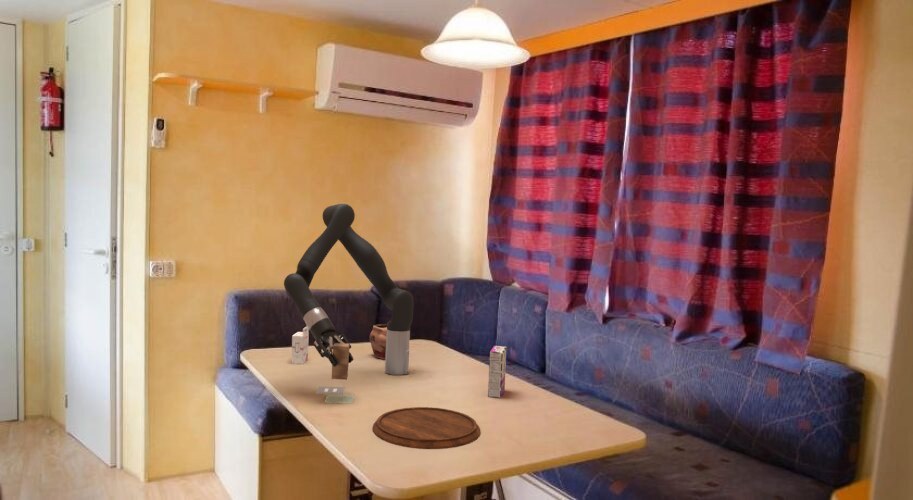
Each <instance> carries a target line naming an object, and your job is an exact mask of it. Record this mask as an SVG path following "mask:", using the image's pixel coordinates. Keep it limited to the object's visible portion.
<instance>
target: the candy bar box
mask: <svg viewBox="0 0 913 500" xmlns="http://www.w3.org/2000/svg"><path fill="white" fill-rule="evenodd" d="M488 361H489V362H488V385H487V386H488V389H487V397H488V398H495V399H501V398H502V396H503V394H504V392H505V390H506V389H505V388H506V387H505V386H506V369H507V368H506V367H507V366H506V364H507V363H506V362H507V346H501V345H493V347H492V349H490V351H489V359H488Z"/></svg>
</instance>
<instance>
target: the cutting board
mask: <svg viewBox="0 0 913 500" xmlns="http://www.w3.org/2000/svg"><path fill="white" fill-rule="evenodd" d="M372 433H373V434H374V435H375V436H376V437H377V438H378V439H380V440H382V441H384V442H386V443H389V444H392V445H395V446H399V447H404V448H405V447H406V448H412V449H419V450H420V449H421V450H440V449H441V450H442V449H452V448H458V447H461V446H466V445H469V444H471V443H473V442H474V441H476V440H477V439H478V438H479V437H480V436H481V428H480V426H479V424H478V423H477V421H476V420H475V419H474V418H473V417H472V416H470V415H468V414H466V413H463V412H459V411H456V410H454V409H453V410H452V409H448V408H440V407H429V406H428V407H426V406H425V407H424V406H423V407H422V406H417V407H414V406H413V407H405V408H404V407H403V408H397V409H394V410H390V411H387V412H385V413H382V414H381V415H379V416H378V418H377V419H376V420H375V421H374V423H373V425H372Z"/></svg>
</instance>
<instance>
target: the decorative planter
mask: <svg viewBox="0 0 913 500" xmlns="http://www.w3.org/2000/svg"><path fill="white" fill-rule="evenodd" d="M386 336H387V324H375V325H373V327H372V330H371V332H370V333H369V343H370V345H371V346H370V347H371V349H372V353H373V356H374V357H375V358H378V359H383V360H385V358H386Z"/></svg>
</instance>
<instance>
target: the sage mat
mask: <svg viewBox="0 0 913 500" xmlns="http://www.w3.org/2000/svg"><path fill="white" fill-rule="evenodd" d="M354 396H355V395H353V394H351V395H350V394H326V398H325V400H324V404H353V402H354V398H355V397H354Z"/></svg>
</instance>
